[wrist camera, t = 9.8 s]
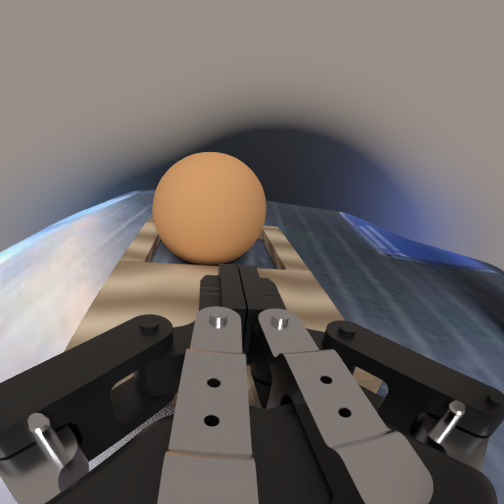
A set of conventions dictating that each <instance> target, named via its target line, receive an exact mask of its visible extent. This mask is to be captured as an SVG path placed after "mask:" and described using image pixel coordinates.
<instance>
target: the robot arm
mask: <svg viewBox="0 0 504 504" xmlns="http://www.w3.org/2000/svg"><path fill="white" fill-rule="evenodd" d="M280 296H281V295H280V293H279V292H278V289H277V286H276V284H275V283H274V282H273V281H271V280H270V279H269V278H260V276H259V273H258V270H257V268H256V266H249V265H238V266H237V265H231V264H219V268H218V275H205V276H204V277H203V278H202V279H201V280H200V294H199V312H198V313H197V315H196V319H195V320H194V321H193V322H192V323H190V324H187V325H184V326H178V327H173V325H172V323H171V322H170V321H169V320H168V319H167V318H165V317H163V316H160V315H154V314H145V315H140V316H136V317H134V318H132V319H130V320H128V321H126V322H124V323H122V324H120V325H118V326H116V327H114V328H112V329H110V330H108V331H106V332H104V333H102V334H100V335H98V336H96V337H94V338H92V339H90V340H88V341H85V342H83V343H81V344H79V345H77V346H75V347H73V348H71V349H69V350H67V351H65V352H63V353H61V354H59V355H57V356H55V357H53V358H51V359H49V360H47V361H45V362H43V363H41V364H39V365H37V366H34V367H32V368H30V369H28V370H26V371H24V372H22V373H20V374H18V375H16V376H14V377H12V378H10V379H8V380H6V381H4V382H2V383H0V476H1V478H2V479H3V481H4V483H5V484H6V486H7V487H8V489H9V491H10V492H11V494H12V495H13V497H14V498H15V500H16V501H17V503H18V504H497V496H496V492H495V490H494V487H493V485H492V484H491V482H490V481H489V479H488V478H487V477H486V476H485V475H484V474H483V473H481V472H480V471H481V468H482V464H483V460H484V457H485V453H486V449H487V444H488V440H489V438H490V436H491V435H492V434H493V433H494V431H495V430H496V429H497V428H498V426H499V425H500V424H501V423H502V421H503V420H504V394H503V393H502V392H500V391H499V390H497V389H495V388H493V387H490V386H488V385H486V384H484V383H481V382H479V381H477V380H475V379H473V378H470V377H468V376H466V375H464V374H462V373H459V372H457V371H455V370H453V369H451V368H448V367H446V366H444V365H442V364H440V363H438V362H435V361H433V360H431V359H429V358H427V357H425V356H423V355H420V354H418V353H416V352H414V351H412V350H410V349H408V348H405V347H403V346H401V345H399V344H397V343H395V342H393V341H391V340H389V339H386V338H384V337H382V336H380V335H378V334H376V333H374V332H372V331H370V330H368V329H365V328H363V327H361V326H359V325H357V324H355V323H352V322H349V321H343V320H337V321H332V322H330V323H329V324H328V325H327V327H326V330H325V332H323V331H317V330H312V329H308V328H305V326H304V324H303V323H302V321H301V319H300V318H299V317H298V316H297V315H296V314H294V313H292V312H290V311H287V309H286V307H285V305H284V302H283V300H282V298H281V297H280ZM246 365H250V376H249V384H250V387H251V391H252V394H253V397H254V401H255V404H256V407H251V406H249V401H248V385H247V369H246ZM356 367H358V368H360V369H362V370H364V371H366V372H368V373H370V374H371V375H373V376H375V377H377V378H379V379H381V380H383V381H384V382H385V383H386V384H387V386H388V390H389V391H388V394H387V396H386V397H382V396H380V395H378V394H376V393H374V392H372V391H370V390H368V389H366V388H365V387H363V386H361V385H359V384H358V383H357V382H356V380H355V379H354V377H353V374H354V371H355V369H356ZM132 373H133V375H134V376H133V377H131V378H130V379H128V380H127V381H125V382H123V383H122V384H120V385H119V386H117V387H115V388H114V389H112V388H113V387H114V385H115V384H116V383H118V382H119V381H121V380H122V379H124V378H126V377H127V376H129V375H130V374H132ZM176 393H178V396H177V401H176V407H175V413H174V414H173V415H170V416H167V417H164V418H162V419H160V420H157V421H155V422H154V423H152V424H150V425H149V426H147V427H146V428H145V429H143V430H142V431H141V432H140V433H139V434H137V435H136V436H135V437H134V438H132V439H131V440H130V441H129V442H127V443H126V444H125V445H124V446H122V447H121V448H120V449H118V450H117V451H116V452H115V453H113V454H112V455H111V456H109V457H108V458H107V459H106V460H104V461H103V462H102V463H100V464H99V465H98V466H96V467H95V468H94V469H92V470H91V471H90V472H89V463H88V462H89V461H91V460H92V459H94V458H95V457H97V456H98V455H100V454H101V453H102V452H104V451H105V450H107V449H108V448H110V447H111V446H112V445H114V444H115V443H117V442H118V441H119V440H121V439H122V438H124V437H125V436H126V435H128V434H129V433H130V432H132V431H133V430H135V429H136V428H137V427H139V426H140V425H141V424H143V423H144V422H145V421H147V420H148V419H149V418H151V417H152V416H153V415H155V414H156V413H157V412H159V411H160V410H161V409H162V408H164V407H165V406H166V405H168V404H169V403H170V402H171V401H172V400H173V399H174V397H175V394H176Z"/></svg>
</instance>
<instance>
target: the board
mask: <svg viewBox="0 0 504 504" xmlns="http://www.w3.org/2000/svg"><path fill="white" fill-rule="evenodd" d="M257 239H260V240H263V242H264V244H265V246H266V248H267V250H268V252H269V254H270V256H271V258H272V260H273V262H274V264H275V266H276V268H277V269H258V268H257V270H258V273H259V276H260V278H269V279H270V280H271V281H273V282H274V283H275V284H276V286H277V289H278V292H279V293H280V295H281V296H280V297H281V298H282V300H283V302H284V305H285V307H286V309H287V311H290V312H292V313H294V314H296V315H297V316H298V317H299V318H300V319H301V321H302V323H303V324H304V326H305V328H308V329H312V330H317V331H323V332H325V330H326V327H327V325H328V324H329V323H330V322H332V321H337V320H343V321H345V320H344V318H343V317H342V315H341V314H340V312H339V311H338V310H337V308H336V307H335V305H334V304H333V302H332V301H331V300H330V298H329V297H328V295H327V294H326V293H325V291H324V290H323V288H322V287H321V286H320V284H319V283H318V281H317V280H316V279H315V277H314V276H313V274H312V273H311V272H310V270H309V269H308V267H307V266H306V265H305V263H304V262H303V261H302V259H301V258H300V256H299V255H298V254H297V252H296V251H295V250H294V248H293V247H292V246H291V244H290V243H289V241H288V240H287V239H286V237H285V236H284V235H283V233H282V232H281V231H280V229H279V228H278V227H272V226H263V229H262V231H261V233H260V235H259V237H258V238H257ZM160 240H161V238H160V236H159V234H158V232H157V230H156V227H155V224H154V219H151V218H149V219H148V221H147V222H146V223H145V225H144V226H143V227H142V229H141V230H140V232H139V233H138V234H137V236H136V237H135V239H134V240H133V242H132V243H131V244H130V246H129V247H128V249H127V250H126V252H125V253H124V255H123V256H122V258H121V259H120V261H119V262H118V264H117V265H116V267H115V268H114V270H113V271H112V273H111V274H110V276H109V277H108V279H107V280H106V282H105V283H104V285H103V287H102V288H101V290H100V291H99V293H98V295H97V296H96V298H95V299H94V301H93V303H92V304H91V306H90V308H89V309H88V311H87V313H86V314H85V316H84V318H83V319H82V321H81V323H80V324H79V326H78V328H77V330H76V331H75V333H74V335H73V337H72V338H71V340H70V342H69V344H68V346H67V348H66V349H65V351H67V350H69V349H71V348H73V347H75V346H77V345H79V344H81V343H83V342H85V341H88V340H90V339H92V338H94V337H96V336H98V335H100V334H102V333H104V332H106V331H108V330H110V329H112V328H114V327H116V326H118V325H120V324H122V323H124V322H126V321H128V320H130V319H132V318H134V317H136V316H140V315H145V314H154V315H160V316H163V317H165V318H167V319H168V320H169V321H170V322H171V323H172V325H173V327H178V326H184V325H187V324H190V323H192V322H193V321H194V320H195V319H196V315H197V313H198V312H199V294H200V280H201V279H202V278H203V277H204V276H205V275H218V268H219V266H204V265H187V264H171V263H155V262H151V260H152V257H153V255H154V253H155V251H156V249H157V246H158V244H159V242H160ZM65 351H64V352H65ZM246 369H247V385H248V401H249V406H256V404H255V401H254V397H253V394H252V391H251V387H250V384H249V376H250V365H246ZM133 376H134V375H133V373H132V374H130V375H129V376H127V377H126V378H124V379H122V380H121V381H119V382H118V383H116V384H115V385H114V387H113V388H112V389H114V388H115V387H117V386H119V385H120V384H122V383H123V382H125V381H127V380H128V379H130V378H131V377H133ZM353 377H354V379H355V380H356V382H357V383H358V384H359V385H361V386H363V387H365V388H366V389H368V390H370V391H372V392H374V393H377V391H378V389H379V387H380V385H381V383H382V381H383V380H381V379H379V378H377V377H375V376H373V375H371V374H370V373H368V372H366V371H364V370H362V369H360V368H358V367H356V369H355V371H354V374H353ZM177 396H178V393H176V394H175V397H174V399H173V400H172V401H171V402H170V403H169V404H172V405H176V401H177Z"/></svg>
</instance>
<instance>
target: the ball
mask: <svg viewBox="0 0 504 504" xmlns="http://www.w3.org/2000/svg"><path fill="white" fill-rule="evenodd" d="M265 217H266V200H265V195H264V192H263V188H262V186H261V184H260V182H259V180H258V178H257V177H256V176H255V174H254V173H253V172H252V170H251V169H250V168H249V167H247V166H246V165H245V164H244V163H242V162H241V161H239V160H238V159H236V158H234V157H232V156H229V155H226V154H223V153H217V152H203V153H197V154H194V155H191V156H188V157H186V158H184V159H182V160H180V161H179V162H177V163H176V164H174V165H173V166H172V167H171V168H170V169H169V170H168V171H167V172H166V173H165V175H164V176H163V177H162V179H161V180H160V182H159V184H158V186H157V189H156V191H155V195H154V200H153V219H154V224H155V227H156V230H157V232H158V234H159V236H160V238H161V240H162V241H163V243H164V244H165V245H166V246H167V248H168V249H169V250H170V251H171V252H173V253H174V254H175V255H176V256H178V257H180V258H181V259H183V260H185V261H187V262H190V263H193V264H198V265H205V266H212V265H219V264H225V263H228V262H230V261H233V260H235V259H237V258H238V257H240V256H241V255H243V254H244V253H245V252H246V251H248V250H249V249H250V248H251V247H252V245H253V244H254V243H255V242H256V240H257V238H258V237H259V235H260V233H261V231H262V229H263V225H264V222H265Z"/></svg>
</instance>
